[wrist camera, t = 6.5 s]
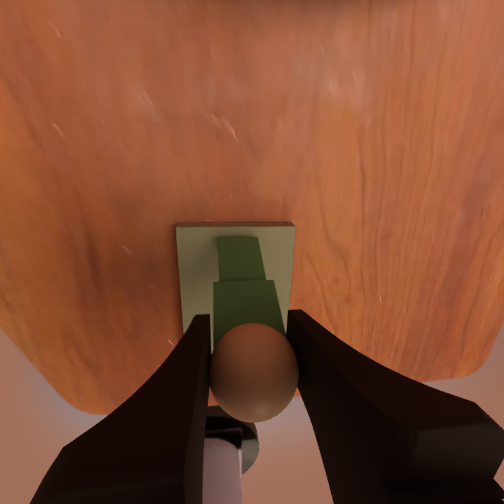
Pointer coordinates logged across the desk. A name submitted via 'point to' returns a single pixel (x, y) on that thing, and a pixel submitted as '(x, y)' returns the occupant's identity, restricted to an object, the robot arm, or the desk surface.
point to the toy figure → (249, 337)
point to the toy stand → (207, 268)
